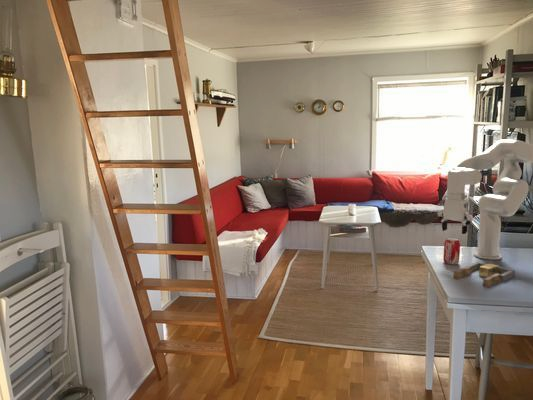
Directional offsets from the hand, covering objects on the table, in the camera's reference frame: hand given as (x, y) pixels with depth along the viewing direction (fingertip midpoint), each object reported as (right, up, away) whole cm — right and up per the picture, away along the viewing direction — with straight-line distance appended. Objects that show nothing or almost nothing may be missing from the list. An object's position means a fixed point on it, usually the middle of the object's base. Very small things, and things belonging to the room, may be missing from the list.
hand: (454, 231), depth 210 cm
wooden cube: (+11, -18, -13) cm, 25 cm away
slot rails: (0, -19, -21) cm, 28 cm away
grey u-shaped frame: (+10, -18, -14) cm, 24 cm away
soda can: (-1, -15, +2) cm, 16 cm away
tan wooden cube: (+7, -18, -16) cm, 25 cm away
